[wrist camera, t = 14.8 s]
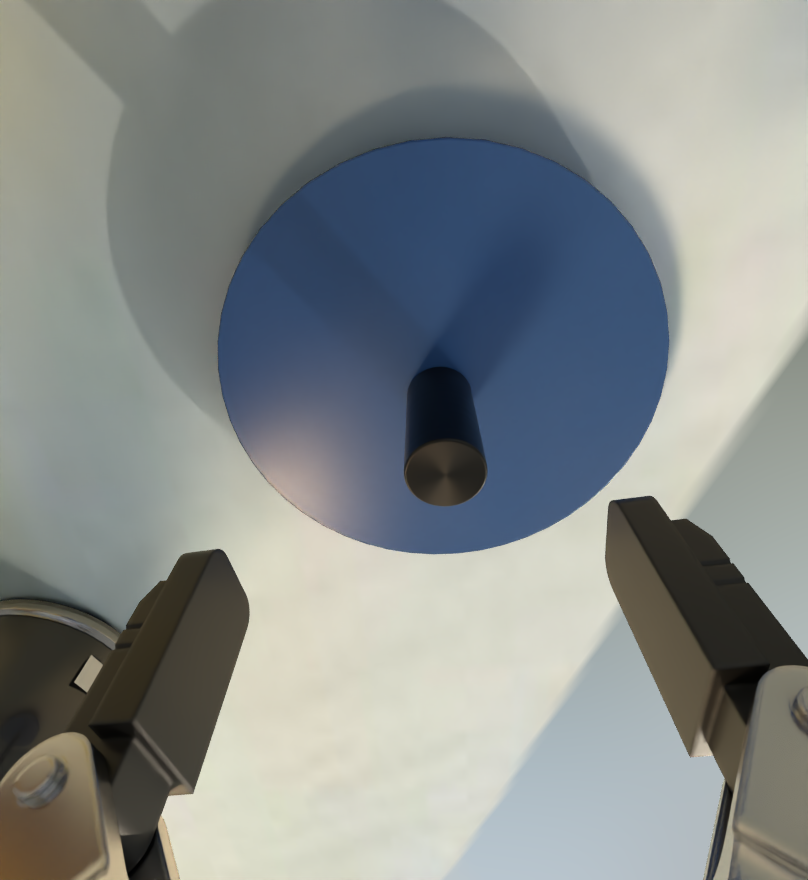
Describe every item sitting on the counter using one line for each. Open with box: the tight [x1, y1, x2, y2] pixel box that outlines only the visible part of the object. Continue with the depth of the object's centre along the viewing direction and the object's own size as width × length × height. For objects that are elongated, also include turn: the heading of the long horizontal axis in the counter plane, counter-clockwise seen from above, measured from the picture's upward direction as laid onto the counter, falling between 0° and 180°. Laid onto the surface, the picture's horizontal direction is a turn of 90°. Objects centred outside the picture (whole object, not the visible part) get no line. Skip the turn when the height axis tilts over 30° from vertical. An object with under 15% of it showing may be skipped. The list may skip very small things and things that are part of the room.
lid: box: [218, 137, 669, 554], centre depth 16 cm, size 16×16×6 cm
